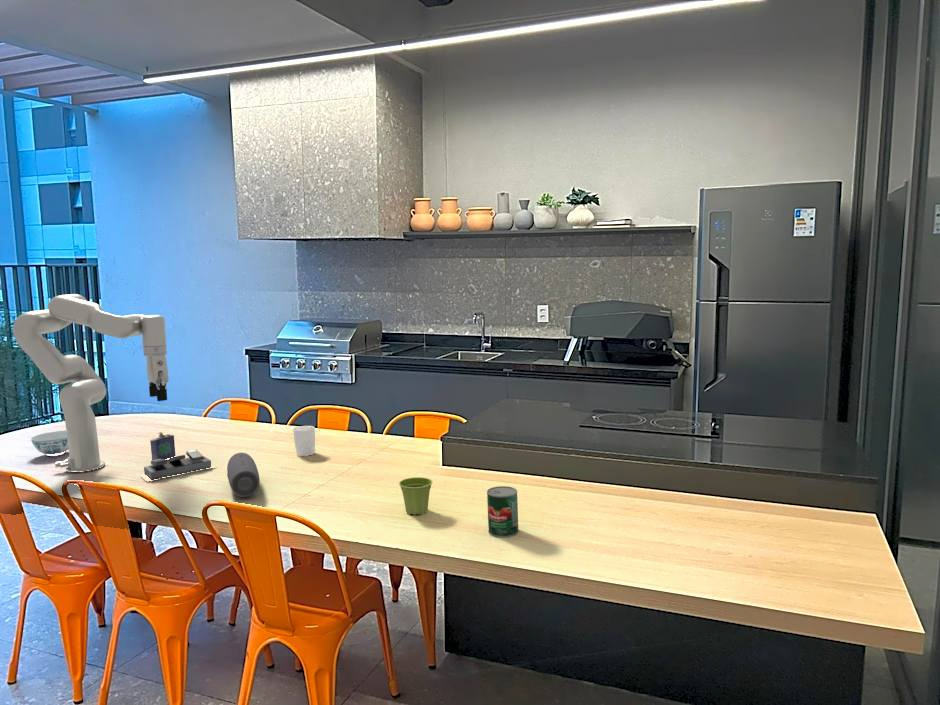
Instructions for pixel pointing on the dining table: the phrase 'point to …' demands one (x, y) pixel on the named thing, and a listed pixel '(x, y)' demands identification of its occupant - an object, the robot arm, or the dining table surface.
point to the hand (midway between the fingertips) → (158, 398)
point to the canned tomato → (502, 511)
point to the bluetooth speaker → (243, 475)
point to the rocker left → (159, 462)
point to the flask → (162, 447)
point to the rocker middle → (177, 458)
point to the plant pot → (416, 494)
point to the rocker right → (194, 455)
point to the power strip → (176, 468)
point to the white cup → (304, 440)
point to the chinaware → (51, 442)
